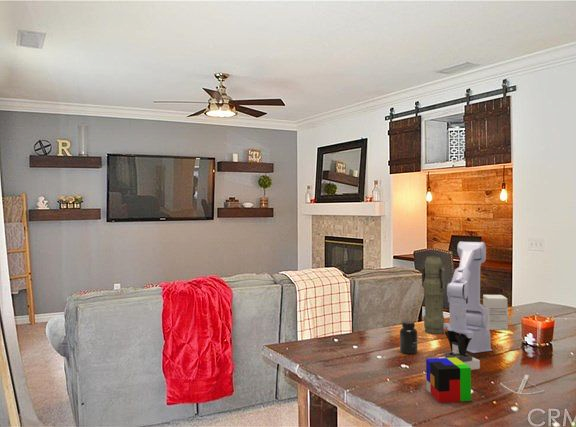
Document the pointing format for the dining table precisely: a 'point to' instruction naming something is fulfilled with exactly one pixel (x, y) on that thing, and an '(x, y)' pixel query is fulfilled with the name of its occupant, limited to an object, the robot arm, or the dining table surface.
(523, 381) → the crossbow
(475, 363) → the camera body
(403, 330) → the supplement bottle
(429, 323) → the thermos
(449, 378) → the puzzle toy
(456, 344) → the lens
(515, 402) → the dining table surface
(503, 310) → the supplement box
